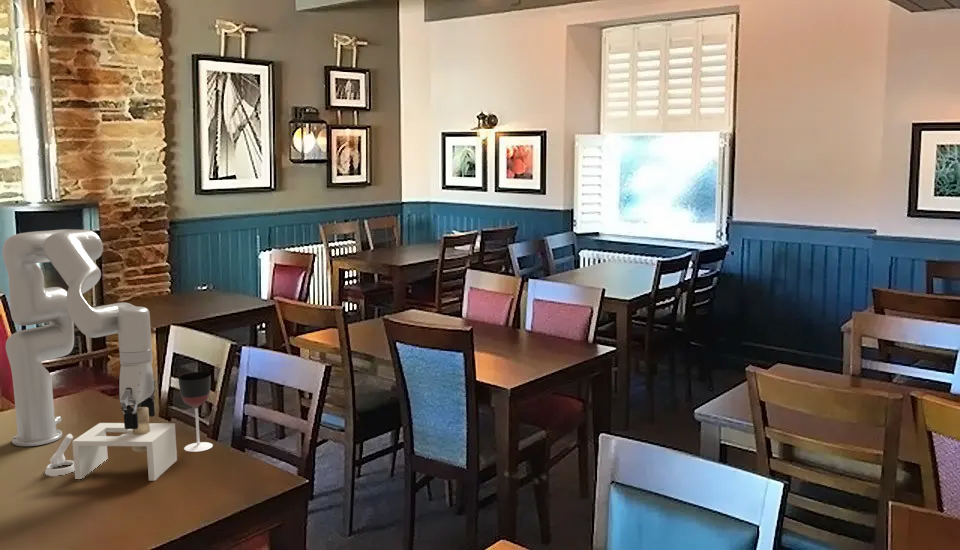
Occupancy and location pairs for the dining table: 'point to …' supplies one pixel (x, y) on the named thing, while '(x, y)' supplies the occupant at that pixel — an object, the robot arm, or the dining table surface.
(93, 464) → the keyhole shelf
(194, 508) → the dining table surface
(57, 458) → the hook
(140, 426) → the peg
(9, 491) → the dining table surface
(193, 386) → the wineglass
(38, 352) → the robot arm
